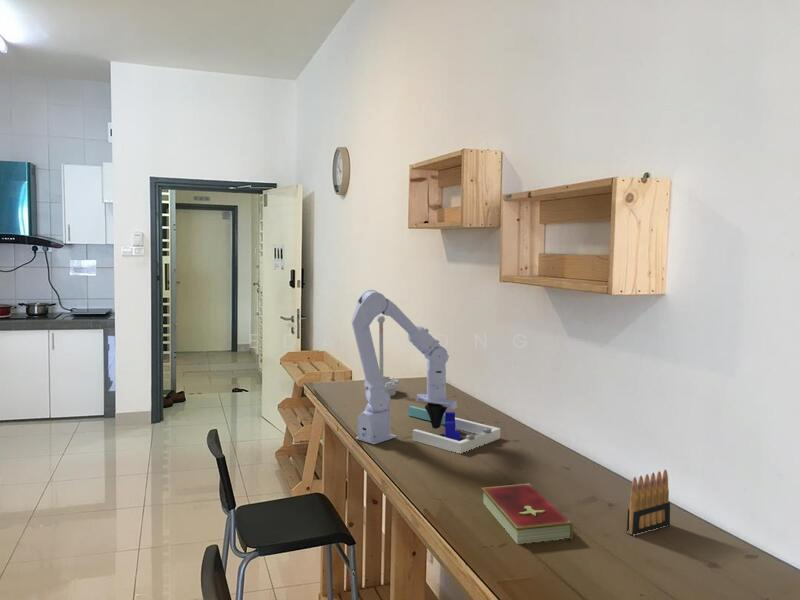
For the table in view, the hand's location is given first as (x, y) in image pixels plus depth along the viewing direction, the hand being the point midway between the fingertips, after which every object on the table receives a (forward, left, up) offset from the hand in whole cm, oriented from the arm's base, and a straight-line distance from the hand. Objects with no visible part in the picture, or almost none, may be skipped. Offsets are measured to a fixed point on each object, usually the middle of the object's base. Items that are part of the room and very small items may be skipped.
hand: (436, 427), depth 199 cm
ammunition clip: (-19, -74, -2) cm, 76 cm away
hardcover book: (-33, -53, -3) cm, 62 cm away
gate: (+9, +11, -2) cm, 14 cm away
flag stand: (+24, +48, -2) cm, 54 cm away
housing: (0, -7, -2) cm, 7 cm away
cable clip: (+1, -5, -2) cm, 6 cm away
